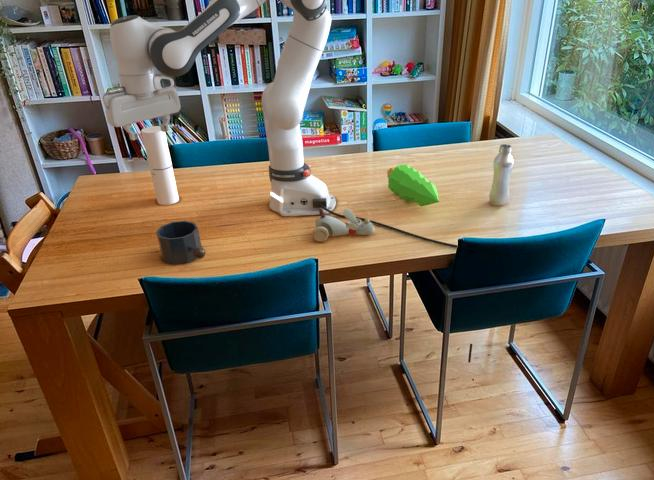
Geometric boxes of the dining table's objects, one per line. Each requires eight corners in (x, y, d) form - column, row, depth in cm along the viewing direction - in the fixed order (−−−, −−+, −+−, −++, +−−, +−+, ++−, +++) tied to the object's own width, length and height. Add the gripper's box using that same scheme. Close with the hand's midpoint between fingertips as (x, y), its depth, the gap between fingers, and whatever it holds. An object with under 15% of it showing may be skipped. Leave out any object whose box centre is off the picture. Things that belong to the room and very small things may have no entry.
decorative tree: (399, 152, 193) (448, 178, 169) (409, 178, 200) (457, 206, 176) (373, 169, 191) (418, 197, 168) (384, 195, 198) (429, 226, 175)
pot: (148, 230, 153) (181, 250, 144) (183, 217, 160) (217, 234, 151) (154, 255, 157) (187, 275, 148) (188, 241, 164) (221, 259, 155)
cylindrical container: (172, 205, 186) (157, 133, 173) (153, 204, 187) (136, 132, 174) (182, 197, 192) (168, 126, 179) (163, 195, 193) (148, 125, 180)
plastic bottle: (509, 201, 186) (518, 144, 176) (505, 209, 181) (513, 150, 170) (491, 198, 189) (498, 141, 178) (486, 205, 183) (493, 148, 173)
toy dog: (377, 237, 165) (377, 210, 161) (319, 249, 159) (317, 222, 154) (361, 220, 175) (361, 194, 170) (305, 231, 169) (304, 205, 164)
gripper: (107, 93, 136) (120, 147, 143) (178, 78, 149) (187, 128, 156) (95, 89, 140) (108, 142, 147) (165, 75, 153) (175, 124, 160)
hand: (150, 135), depth 152 cm, fingers open, 8 cm apart
